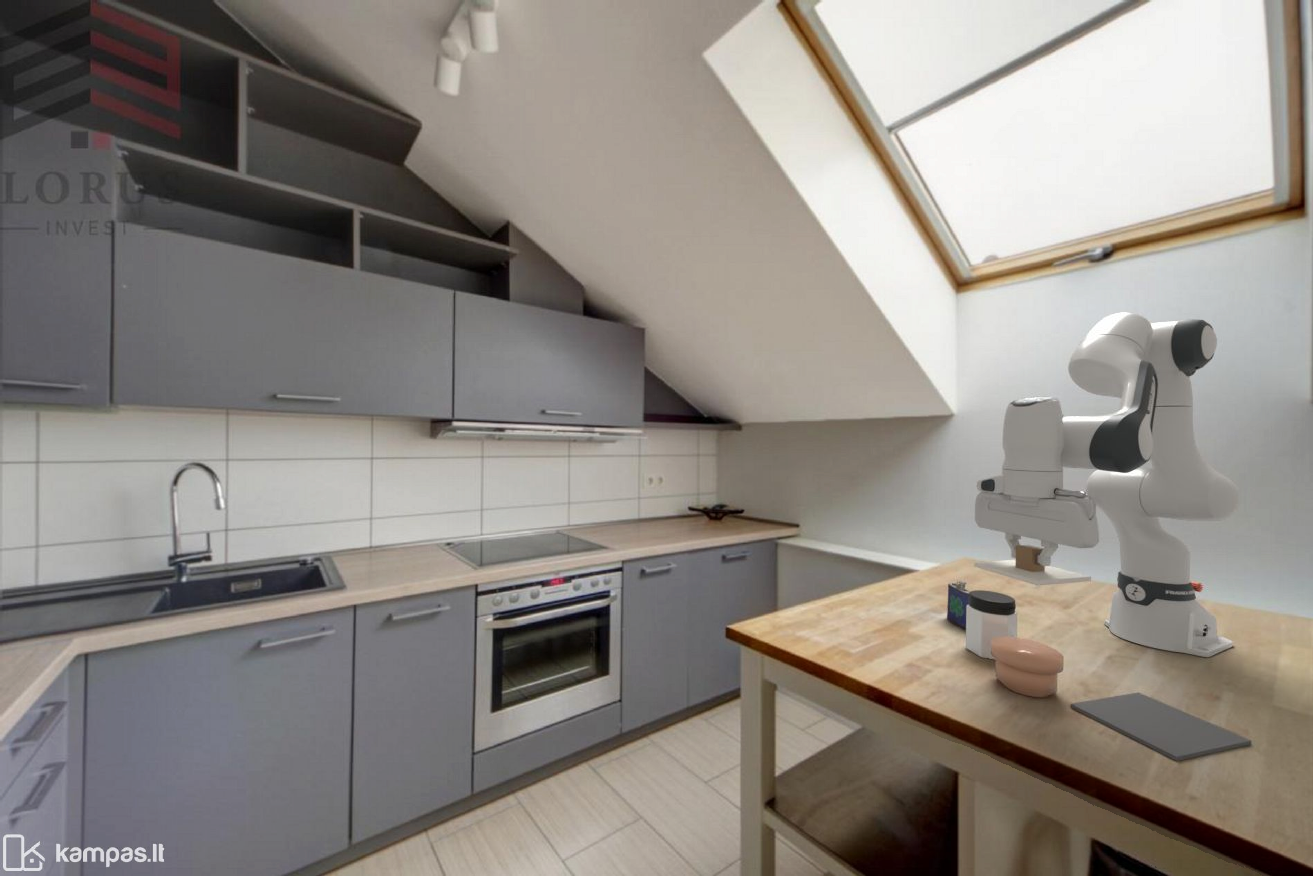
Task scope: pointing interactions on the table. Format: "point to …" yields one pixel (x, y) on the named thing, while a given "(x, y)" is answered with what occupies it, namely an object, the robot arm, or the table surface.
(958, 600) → the flask
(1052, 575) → the lid
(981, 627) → the jar
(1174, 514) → the robot arm
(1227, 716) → the table surface
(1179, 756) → the mat
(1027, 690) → the pink lidded container
